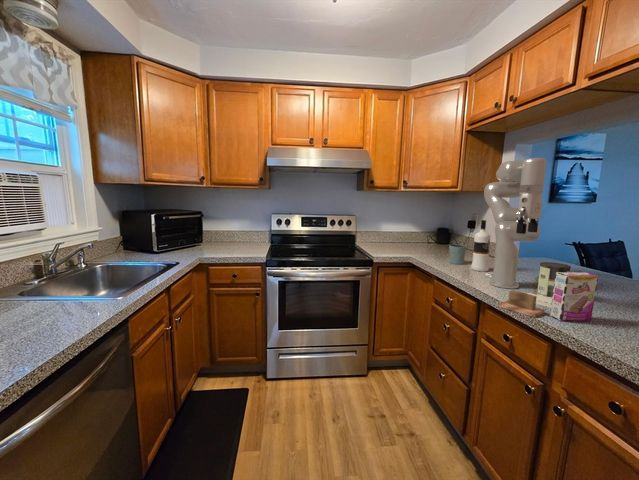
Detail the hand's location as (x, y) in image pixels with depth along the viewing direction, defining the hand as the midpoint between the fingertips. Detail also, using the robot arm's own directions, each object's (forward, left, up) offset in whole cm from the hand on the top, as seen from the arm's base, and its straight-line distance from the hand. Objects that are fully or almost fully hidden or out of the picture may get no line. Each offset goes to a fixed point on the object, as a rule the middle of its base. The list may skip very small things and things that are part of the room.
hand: (526, 232), depth 115 cm
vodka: (-37, +36, -28) cm, 59 cm away
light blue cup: (-55, +41, -28) cm, 74 cm away
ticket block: (+6, +4, -28) cm, 29 cm away
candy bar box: (+19, -6, -28) cm, 35 cm away
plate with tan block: (+6, -13, -28) cm, 32 cm away
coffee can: (+5, +17, -28) cm, 34 cm away
